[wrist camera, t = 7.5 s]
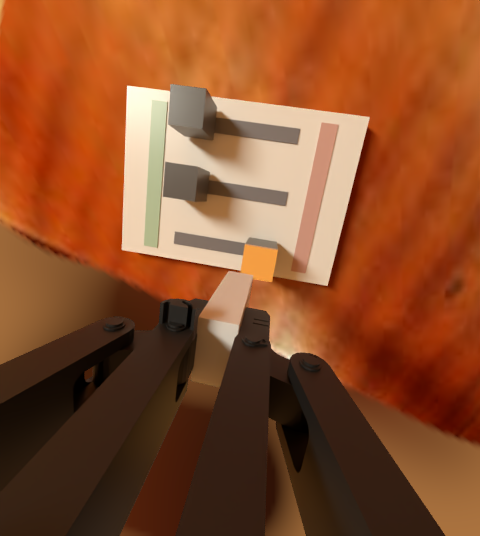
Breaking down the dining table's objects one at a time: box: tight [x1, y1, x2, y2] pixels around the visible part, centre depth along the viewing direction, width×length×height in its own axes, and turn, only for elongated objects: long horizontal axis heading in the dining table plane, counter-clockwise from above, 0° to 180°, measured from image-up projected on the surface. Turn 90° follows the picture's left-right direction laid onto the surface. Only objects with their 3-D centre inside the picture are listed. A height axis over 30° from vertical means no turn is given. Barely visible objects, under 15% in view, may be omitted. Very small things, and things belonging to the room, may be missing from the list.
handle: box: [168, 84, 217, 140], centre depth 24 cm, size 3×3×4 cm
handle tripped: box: [240, 237, 278, 282], centre depth 27 cm, size 3×3×5 cm
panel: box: [122, 86, 370, 286], centre depth 29 cm, size 24×17×2 cm
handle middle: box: [163, 162, 210, 202], centre depth 26 cm, size 3×3×4 cm
